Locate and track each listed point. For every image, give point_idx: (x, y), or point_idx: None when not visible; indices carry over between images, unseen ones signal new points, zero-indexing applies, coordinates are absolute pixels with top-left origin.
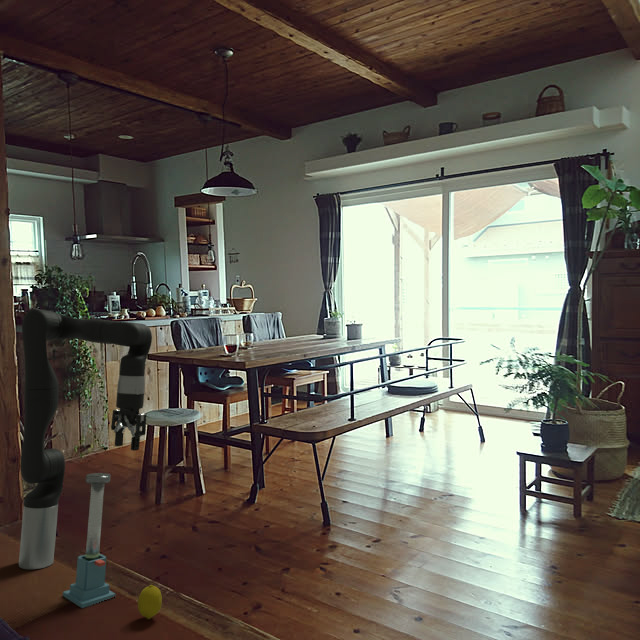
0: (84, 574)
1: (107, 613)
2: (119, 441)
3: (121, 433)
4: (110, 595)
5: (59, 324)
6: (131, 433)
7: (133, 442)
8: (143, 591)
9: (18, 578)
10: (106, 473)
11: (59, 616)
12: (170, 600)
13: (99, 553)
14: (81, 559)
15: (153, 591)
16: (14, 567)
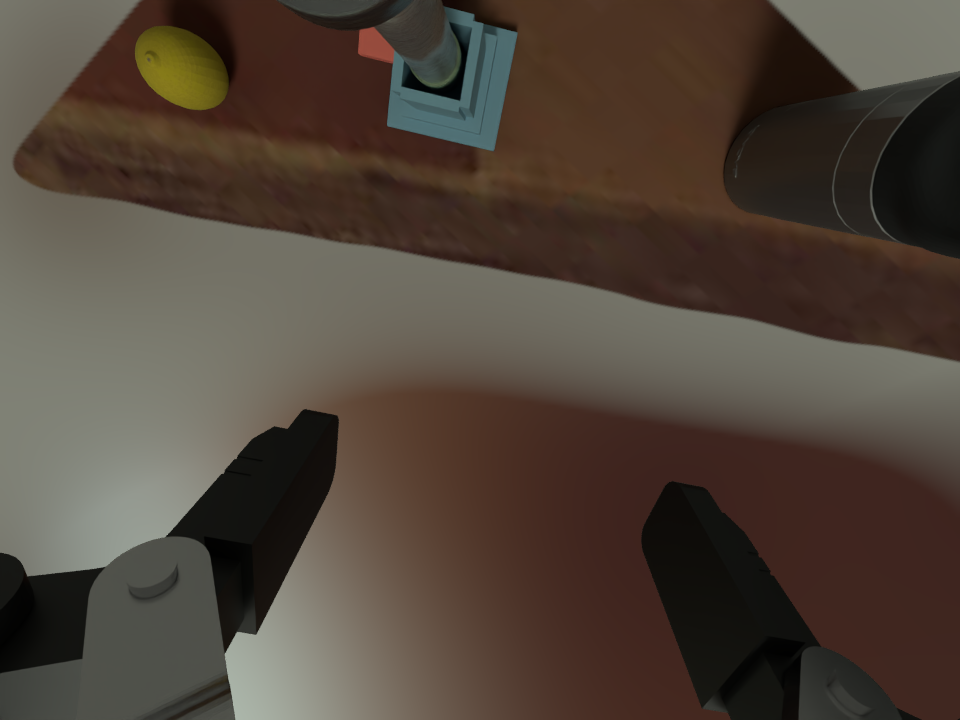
0: None
1: (321, 31)
2: (676, 552)
3: (718, 684)
4: (389, 108)
5: None
6: (208, 611)
7: (257, 482)
8: (162, 35)
9: (741, 42)
10: (339, 5)
11: None
12: (273, 204)
13: (413, 73)
14: (445, 7)
15: (135, 50)
16: None
